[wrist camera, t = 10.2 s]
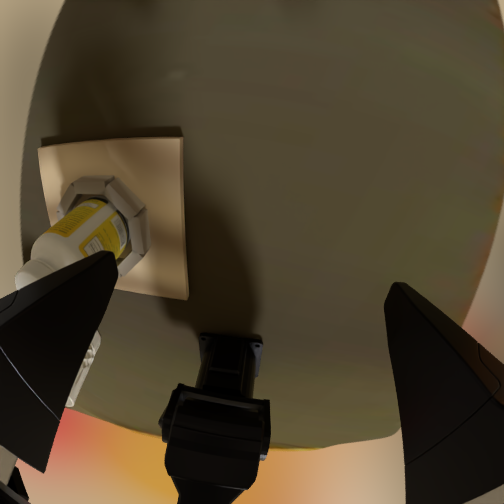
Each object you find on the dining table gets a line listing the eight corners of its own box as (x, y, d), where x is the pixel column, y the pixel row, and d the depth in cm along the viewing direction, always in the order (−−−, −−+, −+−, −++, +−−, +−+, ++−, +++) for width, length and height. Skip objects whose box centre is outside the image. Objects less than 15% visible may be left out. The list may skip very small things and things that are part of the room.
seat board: (189, 294, 26) (182, 311, 24) (70, 274, 26) (59, 287, 24) (183, 136, 18) (171, 142, 16) (43, 146, 19) (26, 153, 17)
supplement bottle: (73, 224, 22) (4, 289, 14) (97, 180, 20) (11, 242, 11) (116, 262, 24) (59, 340, 15) (144, 224, 21) (78, 306, 13)
